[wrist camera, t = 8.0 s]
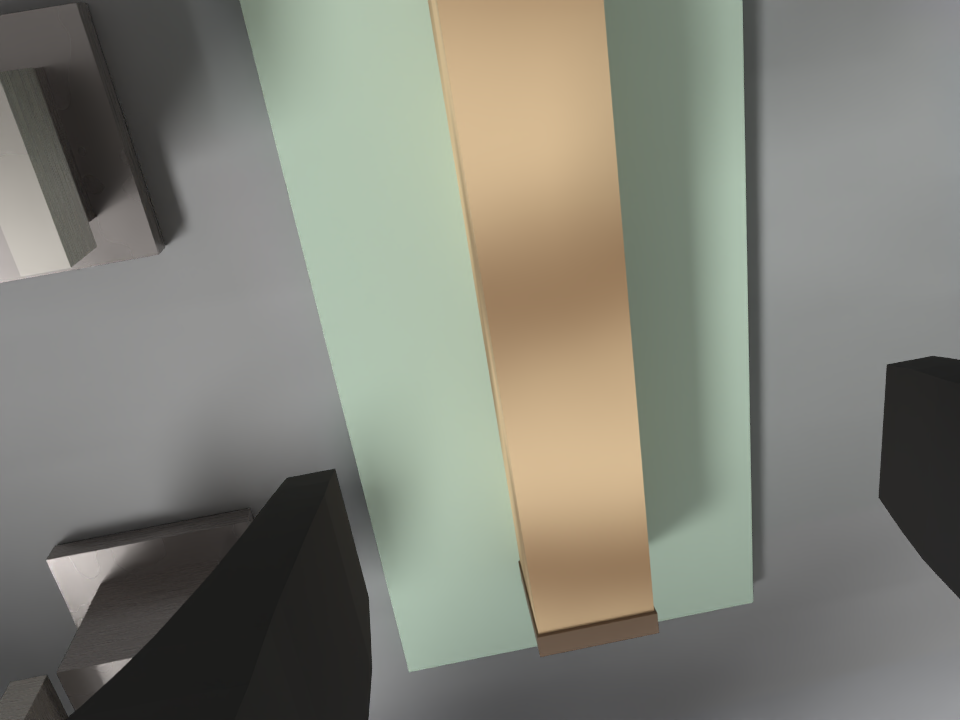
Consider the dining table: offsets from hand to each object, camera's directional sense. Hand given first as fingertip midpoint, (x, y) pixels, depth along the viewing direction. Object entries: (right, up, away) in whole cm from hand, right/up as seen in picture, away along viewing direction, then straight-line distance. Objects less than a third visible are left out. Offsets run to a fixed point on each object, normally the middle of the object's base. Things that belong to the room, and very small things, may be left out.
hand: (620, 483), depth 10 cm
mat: (-1, +4, +9) cm, 9 cm away
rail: (-1, +4, +8) cm, 9 cm away
